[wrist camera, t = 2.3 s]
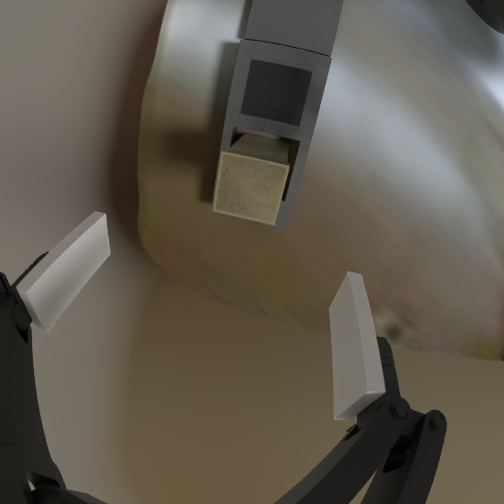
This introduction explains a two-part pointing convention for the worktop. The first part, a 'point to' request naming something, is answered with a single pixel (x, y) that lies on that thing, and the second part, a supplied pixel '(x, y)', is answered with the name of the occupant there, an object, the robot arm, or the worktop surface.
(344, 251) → the worktop surface
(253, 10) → the pad
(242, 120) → the grey flat piece
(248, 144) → the tan block
